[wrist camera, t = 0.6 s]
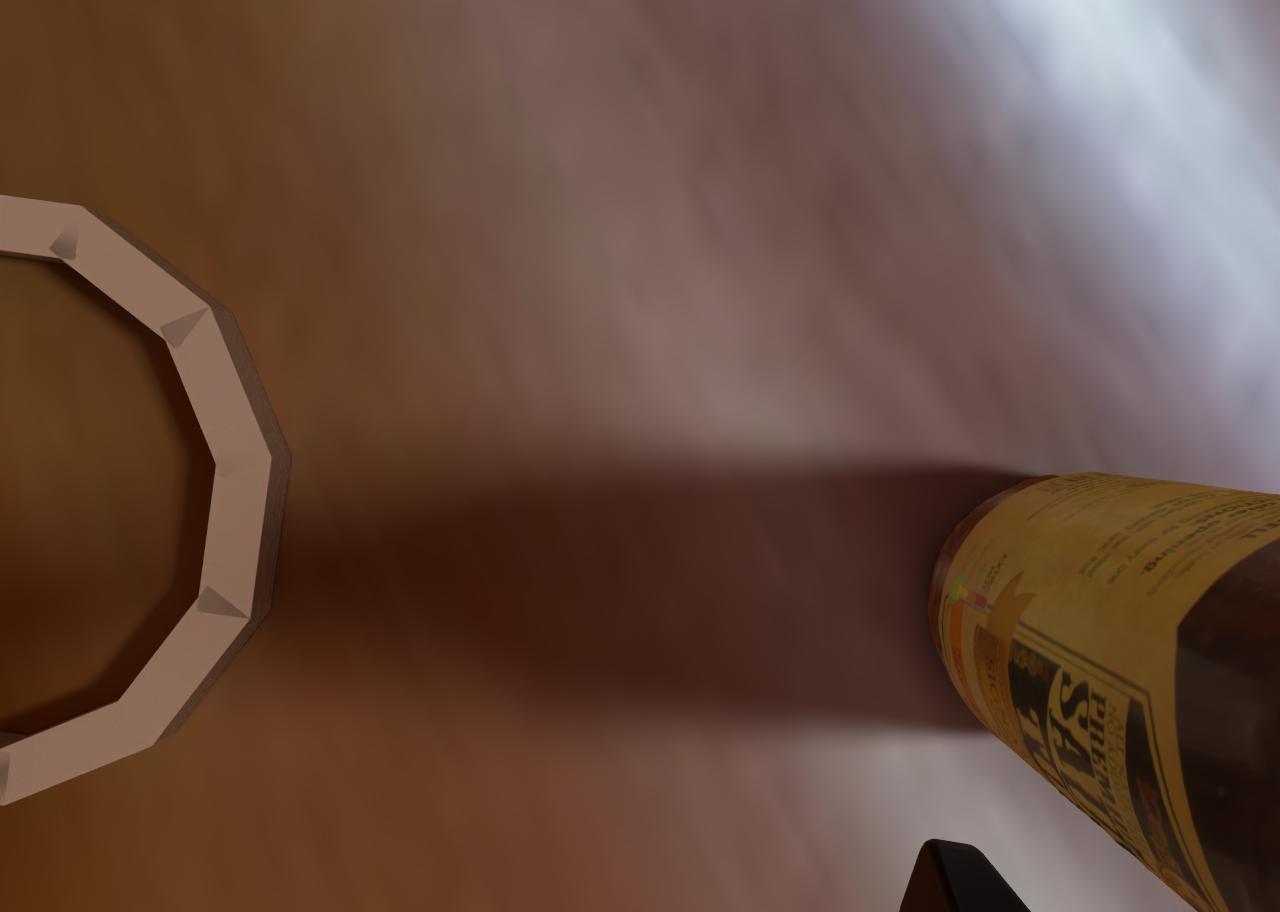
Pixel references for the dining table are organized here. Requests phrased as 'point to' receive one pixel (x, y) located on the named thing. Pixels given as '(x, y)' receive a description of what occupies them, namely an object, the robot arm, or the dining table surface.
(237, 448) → the white faceted ring
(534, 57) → the dining table surface
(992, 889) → the robot arm
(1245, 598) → the sauce bottle
